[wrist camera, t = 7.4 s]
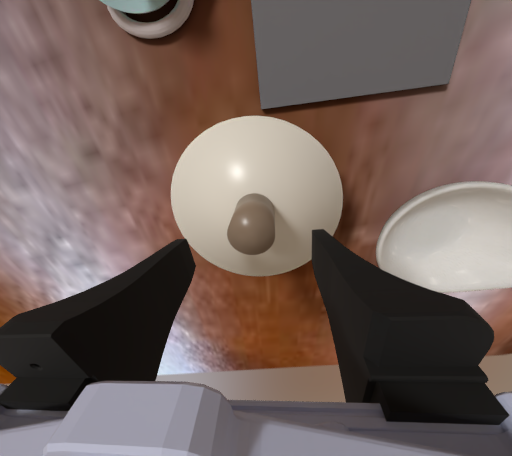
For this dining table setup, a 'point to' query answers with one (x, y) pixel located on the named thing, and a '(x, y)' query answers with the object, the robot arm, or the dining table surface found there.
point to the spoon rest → (451, 238)
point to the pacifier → (140, 3)
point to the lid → (255, 195)
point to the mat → (353, 47)
